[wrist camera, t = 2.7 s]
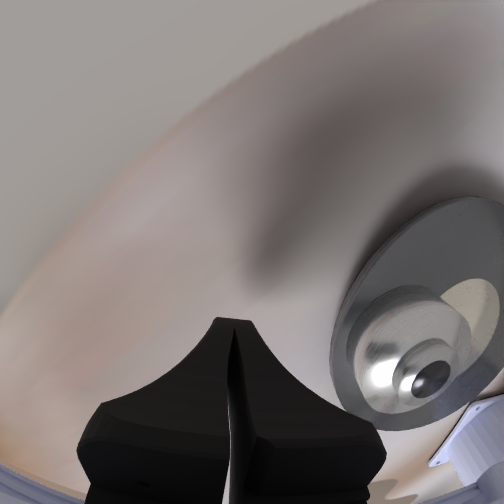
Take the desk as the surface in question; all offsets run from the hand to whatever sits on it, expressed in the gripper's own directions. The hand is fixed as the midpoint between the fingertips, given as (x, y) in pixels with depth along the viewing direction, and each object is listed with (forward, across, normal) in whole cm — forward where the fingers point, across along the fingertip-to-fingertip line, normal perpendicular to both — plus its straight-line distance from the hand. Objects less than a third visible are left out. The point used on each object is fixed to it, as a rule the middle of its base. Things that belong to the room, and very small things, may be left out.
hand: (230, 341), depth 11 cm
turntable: (+3, -12, 0) cm, 12 cm away
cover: (+1, -8, 0) cm, 8 cm away
